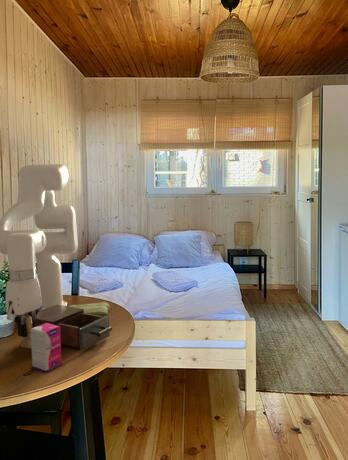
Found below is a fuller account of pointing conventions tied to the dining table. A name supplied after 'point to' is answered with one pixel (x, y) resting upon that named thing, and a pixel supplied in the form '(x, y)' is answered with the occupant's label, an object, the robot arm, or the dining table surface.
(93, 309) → the washcloth
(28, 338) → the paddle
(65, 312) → the cabinet
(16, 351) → the dining table surface
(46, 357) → the supplement box
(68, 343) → the drawer
